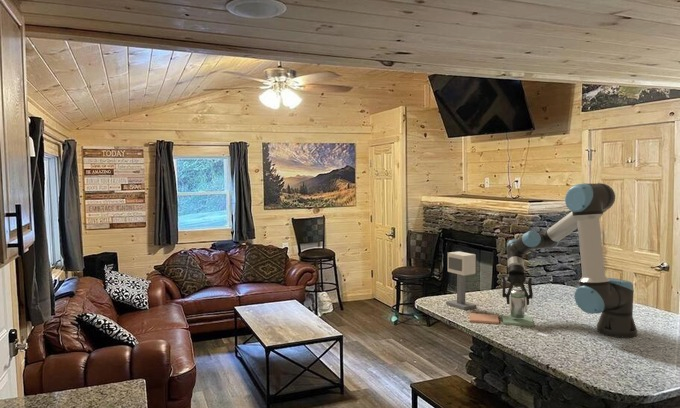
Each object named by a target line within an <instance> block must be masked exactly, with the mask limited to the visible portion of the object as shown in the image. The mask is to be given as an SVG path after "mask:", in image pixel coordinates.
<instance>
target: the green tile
mask: <svg viewBox="0 0 680 408" xmlns="http://www.w3.org/2000/svg"><path fill="white" fill-rule="evenodd" d="M501 318H502V324H503V325H510V326H522V327H523V326H524V327H534V325H535V323H534V321H533V319H532V317H531V316H524V318H513V317H511V315H502V316H501Z"/></svg>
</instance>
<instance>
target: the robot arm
mask: <svg viewBox="0 0 680 408" xmlns="http://www.w3.org/2000/svg"><path fill="white" fill-rule="evenodd" d="M615 201H616V193H615V191H614V189H613V188H612V187H611V186H610V185H608V184H606V183H601V182H600V183H599V182H598V183H597V182H596V183H577V184H574V185H572V186H571V187H570V188H569V189H568V190H567V191H566V194H565V198H564V203H565V206H566V207H567V209H568V210H569V211H570V212H569V213H567V214H566V215H565V216H563V217H562V218H561V219H560V220H559V221H557V222H556V223H554V224H553V225H552V226H550V227H549V228H547V229H546V230H545V231H543V232H539V233H538V232H537V231H535V230H528V231H527V232H524V234H523V235H522V236H521V237H519V238H518V239H516V238H513V239H511V240H508V241H507V243H506V256H507V258H506V259H507V276H501V283H502V294H501V295H502V296H501V297H503V298H506V304H507V305H508V307H509V312H511V309H512V307H511V290H513V288H514V286H517V287H519V288H520V290H523V291H525V311H524V313H527V312H528V306H529V305H530V299H531V300H532V299H533V298H534V294H533V293H534V292H533V287H532V281H533V280H532V279H533V278H531V277H530V278H529V277H526V275H525V261H524V256H525V255H526V254H527V253H528V252H530V251H532V250H538V249H539V250H540V249H551V248H554V247H557V246H558V245H559V244H560V241H561V240H563V239H564V238H565V237H567V236H568V235H570V234H571V233H573V232H574V231H576V230H577V232H578V246H579V253H580V255H579V256H580V265H581V274H582V275H581V277H580V279H579V280H578V285H579V287H577V288H576V290H575V291H574V294H573V295H574V296H573V297H574V301H575V302H574V303H576V305H577V306H578V308H580V310H581V311H583V312H584V313H586V314H589V315H594V314H597V315H598V314H600V316H599V319H598V321H597V324H596V331H597V332H598V333H601V334H603V335H606V336H610V337H614V338H623V339H624V338H626V339H627V338H634V337H636V336H637V335H638V329H637V325H636V322H635V320H634V314H633V310H634V309H633V308H634V293H635V291H634V284H633V282H631V281H629V280H625V279H621V278H614V277H612V278H611V277H607V276H606V269H605V259H604V251H603V239H602V232H601V231H602V230H601V221H600V218H601V217H603V215H604V213H605V212H607V211H608V210H609V209H611V208H612V207H613V205H614V204H615ZM507 282H509V283H510V284H509V287H508V290H507V293H506V287H507V286H506V285H507ZM525 282H526V283H527V289H528V290H527V289H526V287H525Z"/></svg>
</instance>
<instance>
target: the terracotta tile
mask: <svg viewBox="0 0 680 408" xmlns="http://www.w3.org/2000/svg"><path fill="white" fill-rule="evenodd" d="M469 323H479V324H495V325H499V323H500V320H499V315H498V314H487V313H486V314H483V313H471V312H470V313H469Z"/></svg>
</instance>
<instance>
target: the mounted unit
mask: <svg viewBox="0 0 680 408" xmlns="http://www.w3.org/2000/svg"><path fill="white" fill-rule="evenodd" d="M476 257H477V255H476V254H475V253H469V252H463V251H451V252H447V272H448V273H451V274H456V299H452V300H447V301H446V302H445V305H447V306H451V307H453V308H456V309H460V310H461V311H466V310H472V309H476V308H477V306H478V305H477V304H476V303H472V302H469V301H466V282H467V281H466V278H467V276H470V275H476V263H477V261H476Z"/></svg>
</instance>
